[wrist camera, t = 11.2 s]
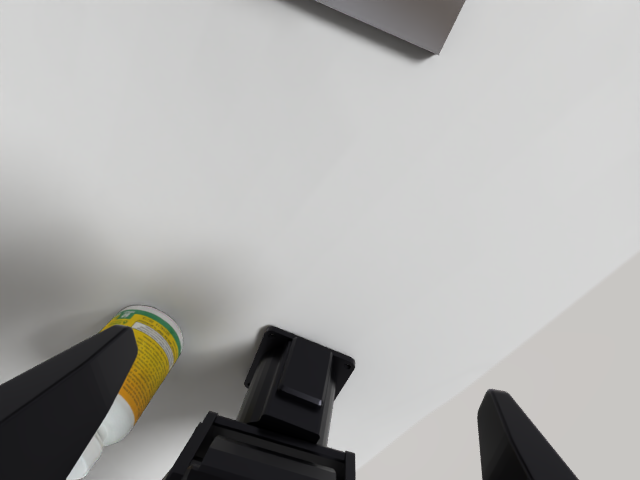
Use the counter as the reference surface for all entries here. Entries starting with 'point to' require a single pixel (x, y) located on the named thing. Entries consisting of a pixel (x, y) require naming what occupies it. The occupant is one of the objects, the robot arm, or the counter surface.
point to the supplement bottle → (135, 378)
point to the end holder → (405, 18)
